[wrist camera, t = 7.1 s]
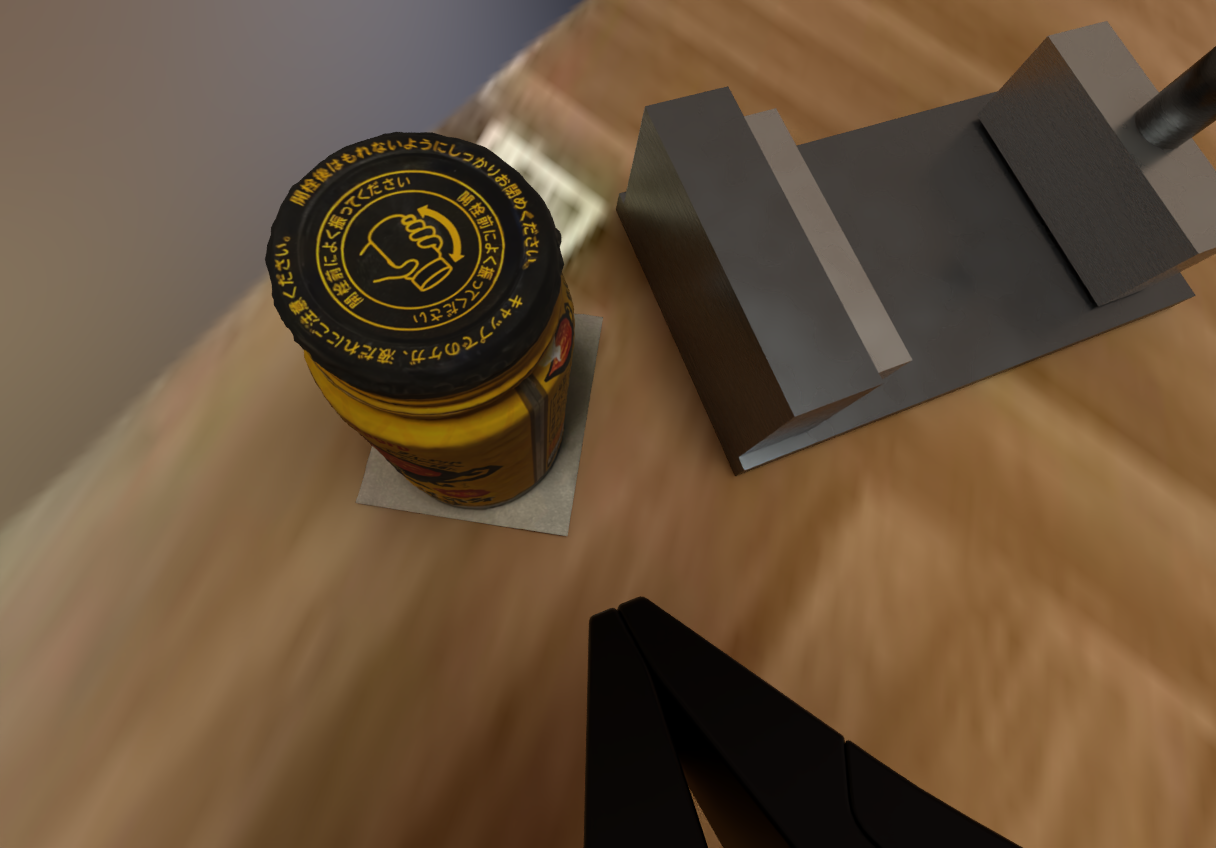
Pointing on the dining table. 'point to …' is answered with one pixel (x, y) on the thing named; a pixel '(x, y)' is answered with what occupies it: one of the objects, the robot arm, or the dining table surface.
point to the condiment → (440, 327)
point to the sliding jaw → (1111, 158)
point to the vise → (846, 267)
